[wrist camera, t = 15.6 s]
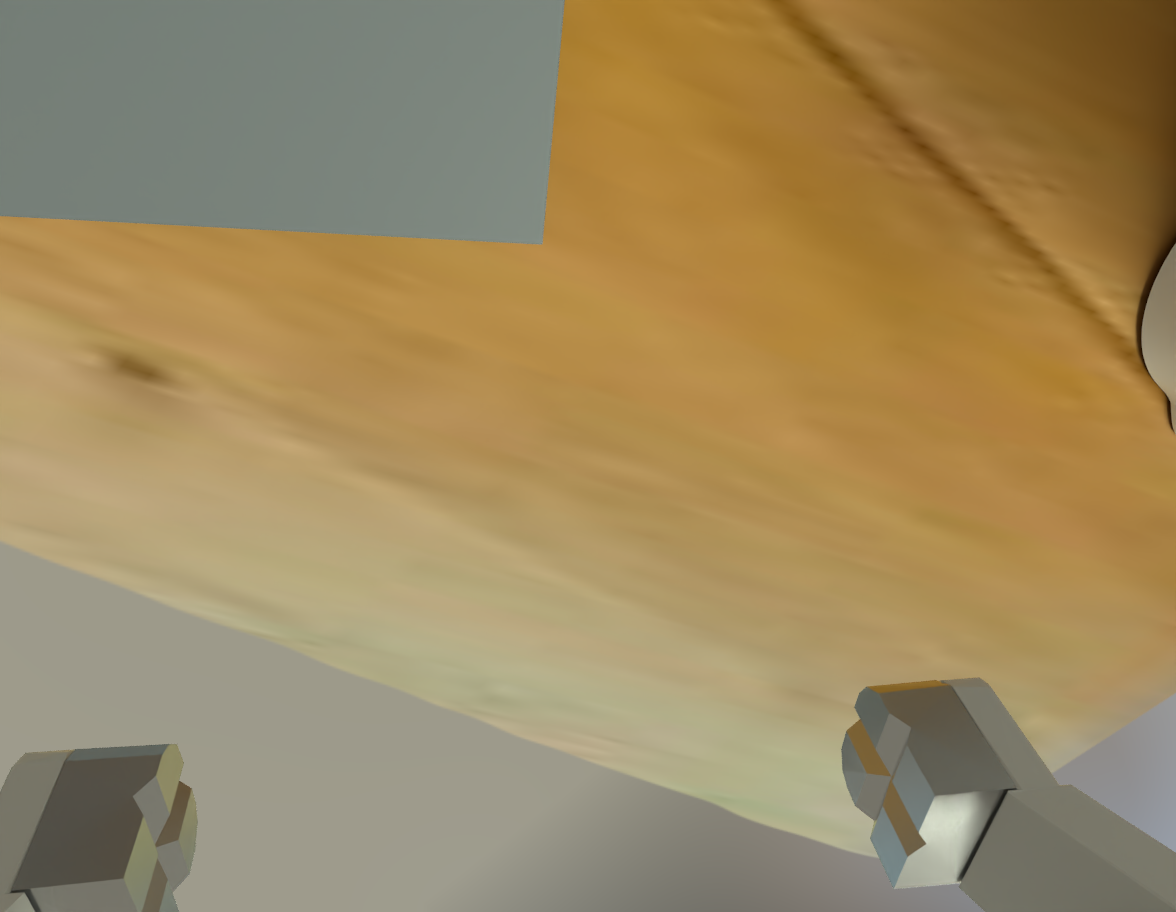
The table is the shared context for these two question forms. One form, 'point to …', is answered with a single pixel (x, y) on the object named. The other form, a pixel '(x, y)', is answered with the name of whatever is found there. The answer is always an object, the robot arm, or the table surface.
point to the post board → (282, 114)
